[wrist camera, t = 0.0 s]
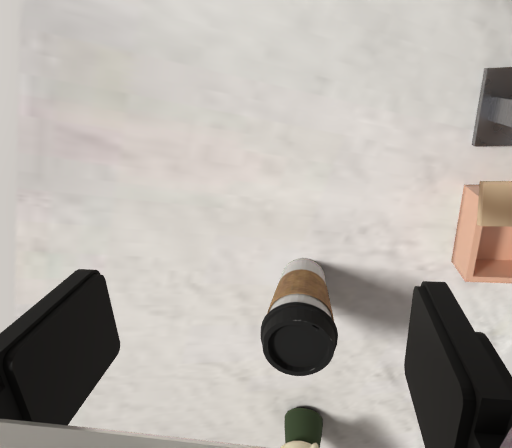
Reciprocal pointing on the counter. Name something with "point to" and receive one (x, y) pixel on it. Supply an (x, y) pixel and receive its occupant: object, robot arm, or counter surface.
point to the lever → (495, 203)
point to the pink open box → (481, 245)
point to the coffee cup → (300, 321)
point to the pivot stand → (494, 109)
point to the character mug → (302, 428)
